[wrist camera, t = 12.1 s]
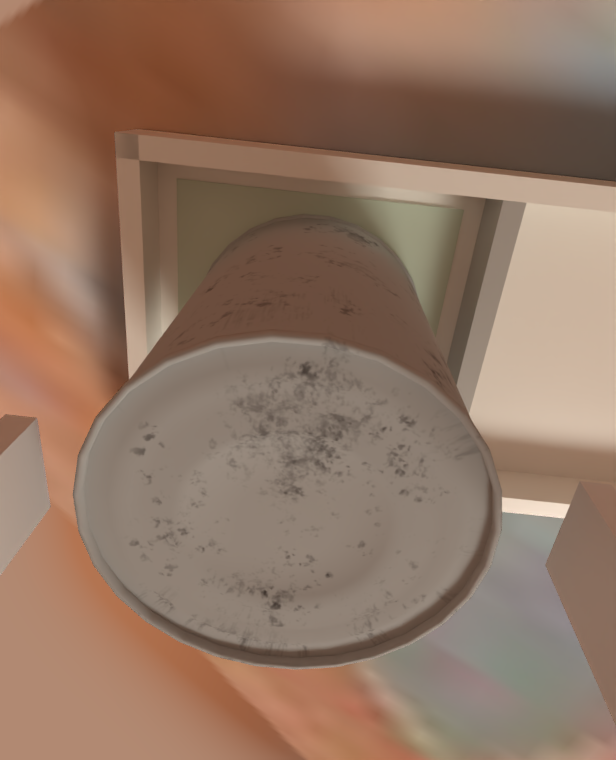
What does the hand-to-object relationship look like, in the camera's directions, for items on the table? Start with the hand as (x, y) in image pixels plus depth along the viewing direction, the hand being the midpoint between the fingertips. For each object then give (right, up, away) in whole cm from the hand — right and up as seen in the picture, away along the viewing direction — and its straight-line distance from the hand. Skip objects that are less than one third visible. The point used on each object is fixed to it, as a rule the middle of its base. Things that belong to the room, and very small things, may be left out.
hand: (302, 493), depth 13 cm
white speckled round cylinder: (0, +5, +10) cm, 11 cm away
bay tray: (+7, +5, +10) cm, 13 cm away
